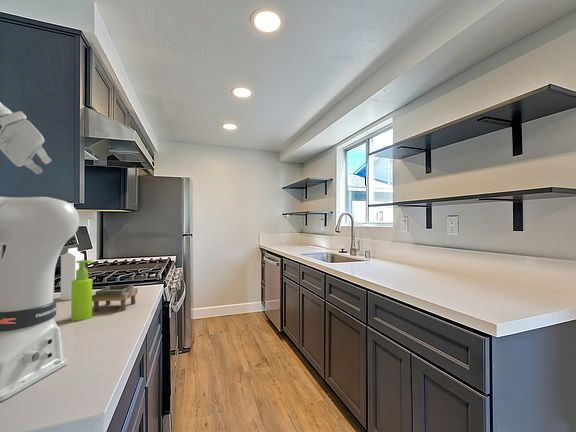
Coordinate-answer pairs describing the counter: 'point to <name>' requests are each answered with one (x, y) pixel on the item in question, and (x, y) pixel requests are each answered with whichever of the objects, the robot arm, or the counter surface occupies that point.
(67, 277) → the milk
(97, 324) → the counter surface
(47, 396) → the counter surface
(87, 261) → the soap dispenser
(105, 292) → the stool
